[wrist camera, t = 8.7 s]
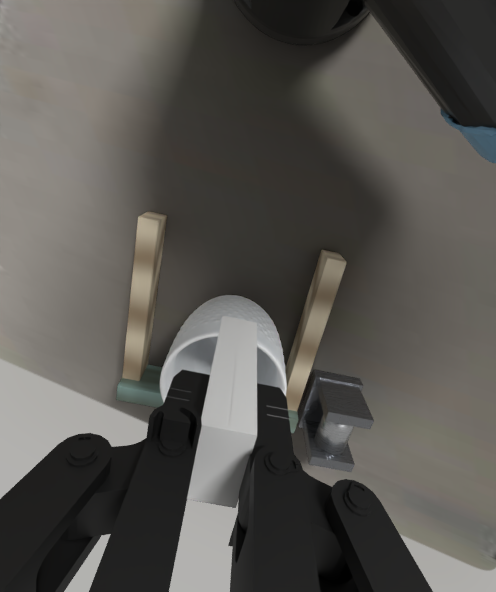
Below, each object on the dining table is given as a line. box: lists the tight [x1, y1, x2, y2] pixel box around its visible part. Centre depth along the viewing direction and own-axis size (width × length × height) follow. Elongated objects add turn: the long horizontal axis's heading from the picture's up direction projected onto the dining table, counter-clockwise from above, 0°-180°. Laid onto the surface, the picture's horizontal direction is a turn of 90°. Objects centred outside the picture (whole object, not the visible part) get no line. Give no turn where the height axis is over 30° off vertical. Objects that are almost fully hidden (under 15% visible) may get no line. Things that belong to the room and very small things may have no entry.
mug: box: [160, 295, 287, 402], centre depth 37 cm, size 15×11×13 cm
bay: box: [116, 211, 347, 433], centre depth 40 cm, size 21×21×5 cm
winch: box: [298, 370, 374, 472], centre depth 43 cm, size 8×6×8 cm
